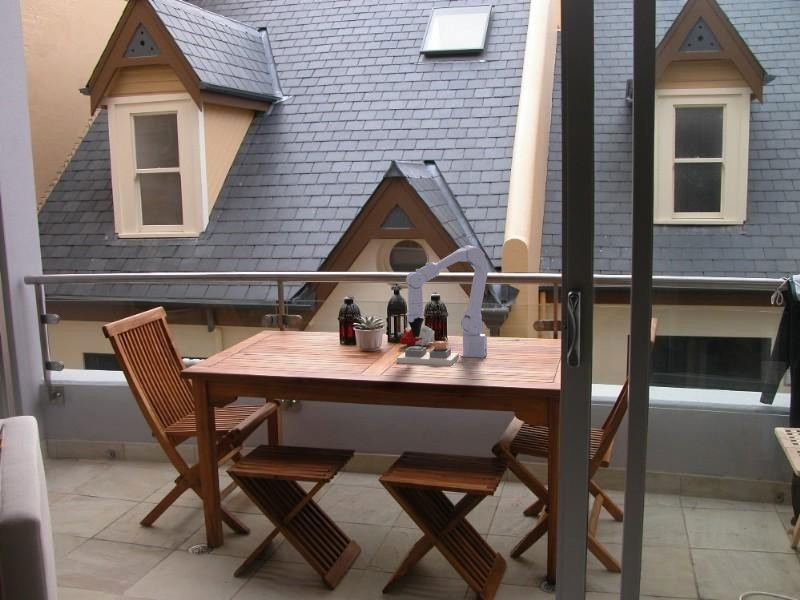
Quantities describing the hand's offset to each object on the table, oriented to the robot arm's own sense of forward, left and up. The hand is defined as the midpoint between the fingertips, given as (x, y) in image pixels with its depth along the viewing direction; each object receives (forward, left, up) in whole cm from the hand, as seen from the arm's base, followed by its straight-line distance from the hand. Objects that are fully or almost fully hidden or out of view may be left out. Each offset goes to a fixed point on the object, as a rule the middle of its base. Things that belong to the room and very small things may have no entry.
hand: (416, 336), depth 315 cm
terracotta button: (-10, 0, -4) cm, 11 cm away
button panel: (-5, 0, -9) cm, 11 cm away
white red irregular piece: (+8, -24, -10) cm, 27 cm away
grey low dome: (0, 0, -7) cm, 7 cm away
